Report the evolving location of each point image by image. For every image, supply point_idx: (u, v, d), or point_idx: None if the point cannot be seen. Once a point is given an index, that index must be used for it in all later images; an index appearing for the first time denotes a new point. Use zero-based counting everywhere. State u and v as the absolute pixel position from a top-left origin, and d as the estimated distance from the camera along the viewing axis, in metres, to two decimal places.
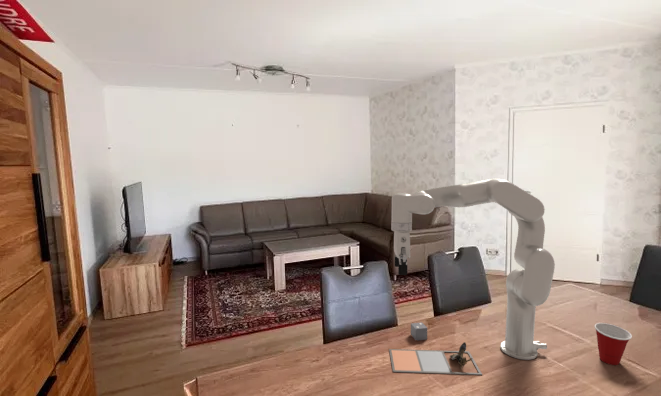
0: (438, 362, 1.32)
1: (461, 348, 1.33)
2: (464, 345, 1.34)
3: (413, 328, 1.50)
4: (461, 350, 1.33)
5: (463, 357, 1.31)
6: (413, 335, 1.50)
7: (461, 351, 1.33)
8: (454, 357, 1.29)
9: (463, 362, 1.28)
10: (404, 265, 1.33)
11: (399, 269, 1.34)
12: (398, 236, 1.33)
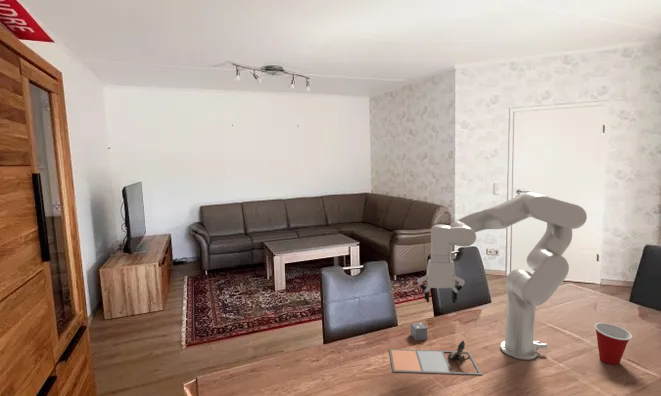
0: (438, 362, 1.32)
1: (459, 346, 1.34)
2: (462, 343, 1.35)
3: (413, 328, 1.50)
4: (459, 348, 1.34)
5: (461, 355, 1.32)
6: (413, 335, 1.50)
7: (459, 349, 1.34)
8: (453, 355, 1.30)
9: (461, 360, 1.29)
10: None
11: (455, 297, 1.37)
12: (453, 266, 1.35)
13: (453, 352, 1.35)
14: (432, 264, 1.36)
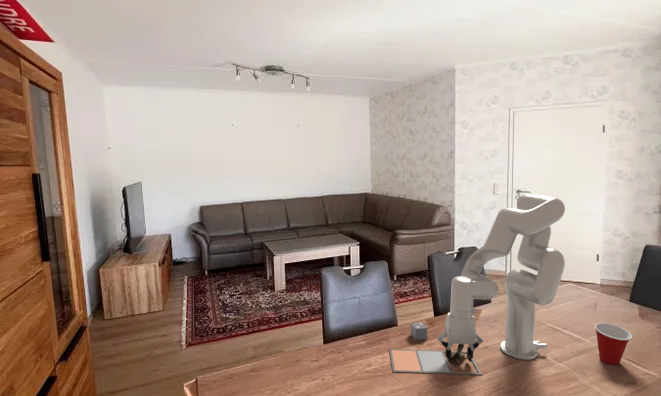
0: (438, 362, 1.32)
1: (459, 346, 1.34)
2: None
3: (413, 328, 1.50)
4: (459, 348, 1.34)
5: (461, 355, 1.32)
6: (413, 335, 1.50)
7: (459, 349, 1.34)
8: (453, 355, 1.30)
9: (462, 360, 1.29)
10: None
11: (471, 356, 1.30)
12: (474, 322, 1.28)
13: (453, 352, 1.35)
14: (452, 319, 1.28)
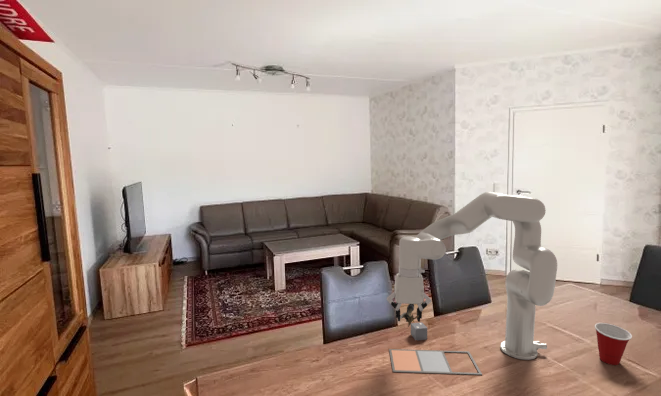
0: (438, 362, 1.32)
1: (409, 308, 1.34)
2: (412, 305, 1.36)
3: (413, 328, 1.50)
4: (409, 310, 1.34)
5: (411, 316, 1.32)
6: (413, 335, 1.50)
7: (409, 310, 1.34)
8: (402, 316, 1.30)
9: (410, 320, 1.29)
10: None
11: (419, 316, 1.30)
12: (422, 281, 1.28)
13: None
14: (399, 278, 1.28)
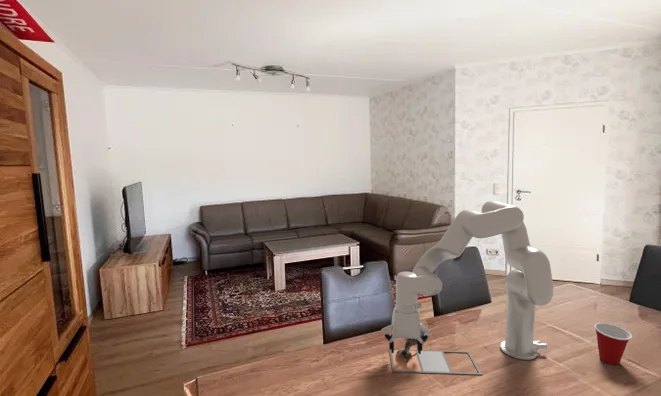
0: (438, 362, 1.32)
1: (407, 344, 1.36)
2: (410, 340, 1.37)
3: None
4: (407, 346, 1.35)
5: None
6: None
7: (407, 347, 1.35)
8: (400, 353, 1.32)
9: (408, 357, 1.31)
10: None
11: (420, 348, 1.31)
12: (419, 316, 1.29)
13: (401, 349, 1.36)
14: (396, 314, 1.30)
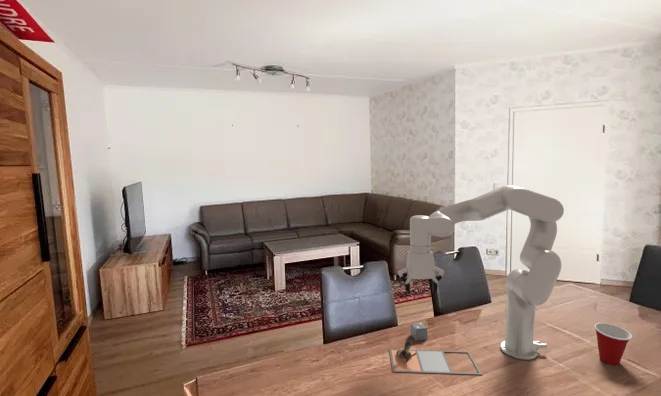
0: (438, 362, 1.32)
1: (407, 343, 1.36)
2: (410, 340, 1.37)
3: (413, 328, 1.50)
4: (407, 345, 1.36)
5: (408, 352, 1.34)
6: (413, 335, 1.50)
7: (407, 346, 1.35)
8: (399, 352, 1.32)
9: (408, 357, 1.31)
10: None
11: (435, 288, 1.37)
12: (433, 257, 1.35)
13: (401, 349, 1.36)
14: (411, 255, 1.35)
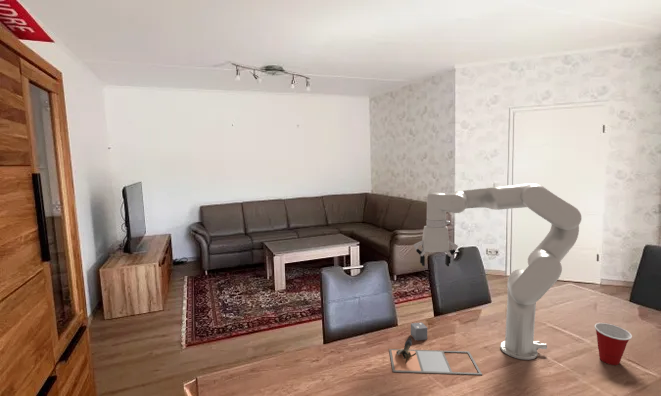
0: (438, 362, 1.32)
1: (407, 343, 1.36)
2: (410, 340, 1.37)
3: (413, 328, 1.50)
4: (407, 345, 1.36)
5: (408, 352, 1.34)
6: (413, 335, 1.50)
7: (406, 346, 1.35)
8: (399, 352, 1.32)
9: (408, 357, 1.31)
10: None
11: (448, 261, 1.46)
12: (447, 231, 1.44)
13: (400, 349, 1.36)
14: (427, 229, 1.44)
